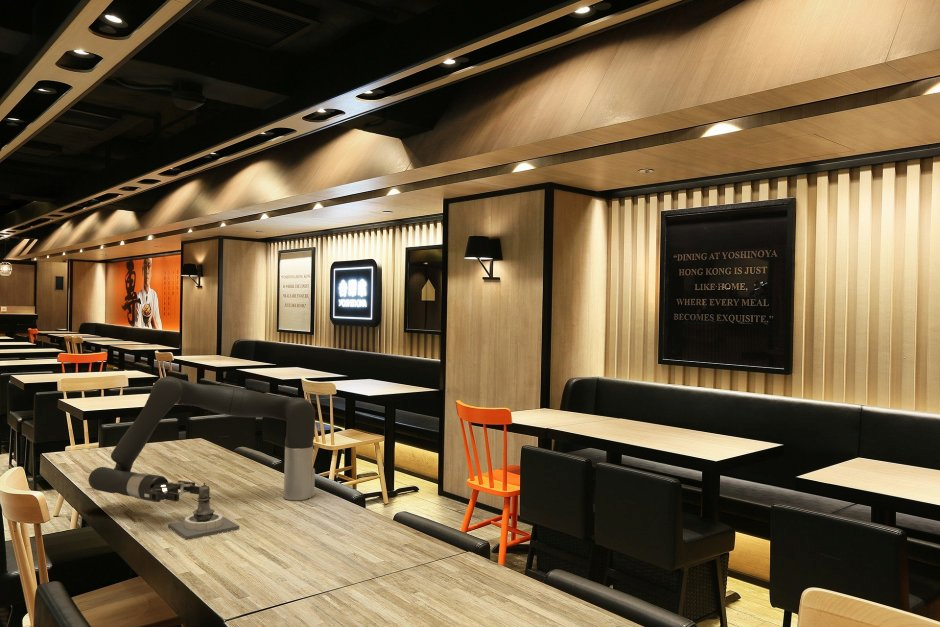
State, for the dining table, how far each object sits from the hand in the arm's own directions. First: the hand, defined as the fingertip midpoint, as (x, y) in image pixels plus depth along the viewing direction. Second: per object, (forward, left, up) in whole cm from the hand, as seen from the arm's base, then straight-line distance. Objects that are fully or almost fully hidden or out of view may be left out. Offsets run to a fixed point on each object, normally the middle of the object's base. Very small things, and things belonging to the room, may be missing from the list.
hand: (189, 494), depth 198 cm
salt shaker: (-2, +5, -8) cm, 10 cm away
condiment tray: (-2, +5, -9) cm, 11 cm away
